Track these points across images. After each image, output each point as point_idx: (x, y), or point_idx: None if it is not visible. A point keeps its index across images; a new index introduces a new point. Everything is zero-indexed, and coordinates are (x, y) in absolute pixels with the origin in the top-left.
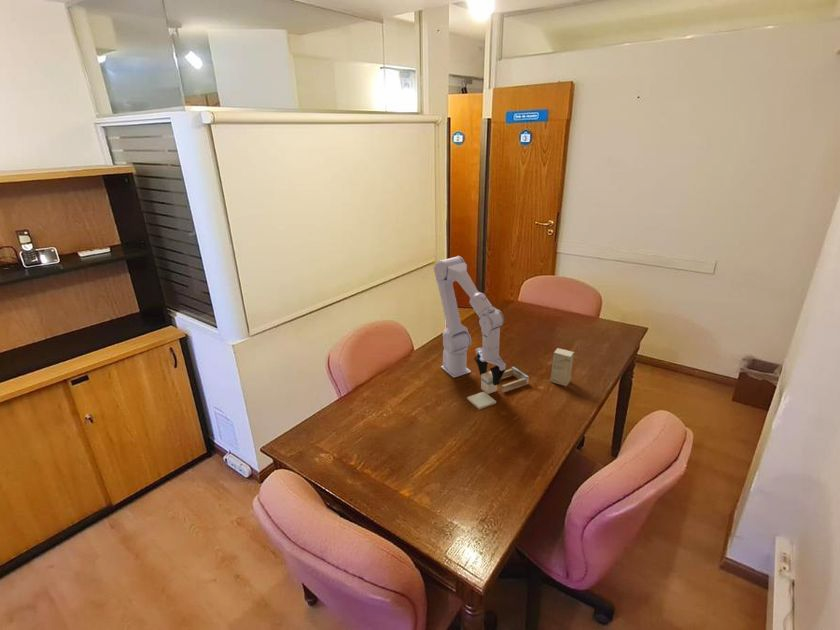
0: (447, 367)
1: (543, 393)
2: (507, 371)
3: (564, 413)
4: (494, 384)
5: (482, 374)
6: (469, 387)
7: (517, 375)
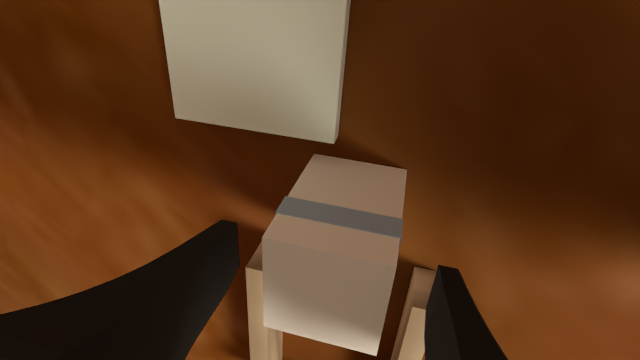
0: None
1: None
2: None
3: (16, 280)
4: (213, 225)
5: (385, 270)
6: (501, 108)
7: None
